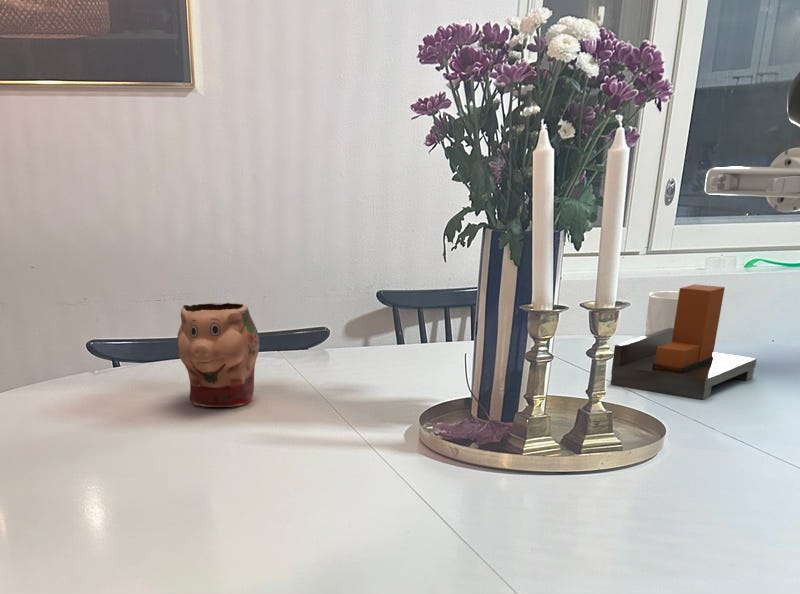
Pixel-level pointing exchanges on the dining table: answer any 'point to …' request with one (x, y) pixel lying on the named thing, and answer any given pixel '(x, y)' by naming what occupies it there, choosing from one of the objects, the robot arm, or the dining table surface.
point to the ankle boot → (692, 329)
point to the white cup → (661, 311)
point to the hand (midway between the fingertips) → (741, 184)
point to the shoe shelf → (638, 373)
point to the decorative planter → (218, 353)
